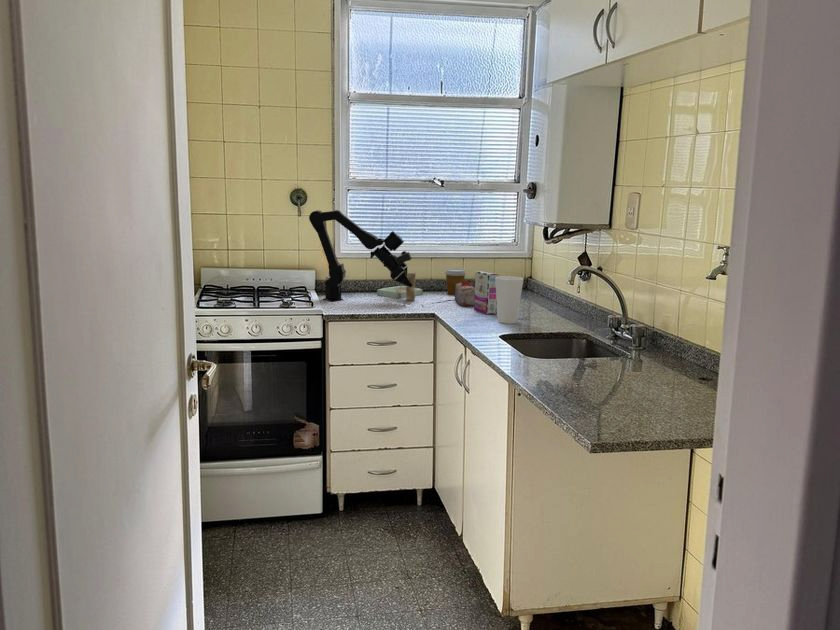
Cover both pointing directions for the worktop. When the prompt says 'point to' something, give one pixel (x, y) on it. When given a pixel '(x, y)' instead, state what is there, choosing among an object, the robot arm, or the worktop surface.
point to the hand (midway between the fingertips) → (412, 284)
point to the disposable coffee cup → (454, 279)
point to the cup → (508, 298)
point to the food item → (464, 294)
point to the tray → (392, 292)
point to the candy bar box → (485, 292)
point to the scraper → (410, 290)
